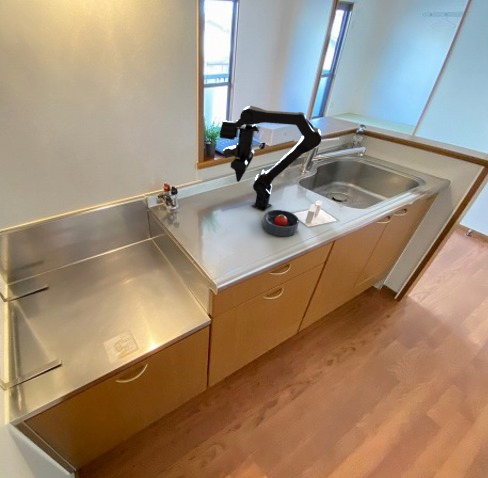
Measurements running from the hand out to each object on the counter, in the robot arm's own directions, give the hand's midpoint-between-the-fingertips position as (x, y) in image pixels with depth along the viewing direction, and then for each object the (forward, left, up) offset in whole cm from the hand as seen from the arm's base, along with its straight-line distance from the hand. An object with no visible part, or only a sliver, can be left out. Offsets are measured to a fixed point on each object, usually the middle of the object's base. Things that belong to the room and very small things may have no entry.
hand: (240, 177), depth 119 cm
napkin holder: (-13, +31, -12) cm, 36 cm away
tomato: (+5, +25, -12) cm, 28 cm away
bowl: (+5, +25, -12) cm, 28 cm away
